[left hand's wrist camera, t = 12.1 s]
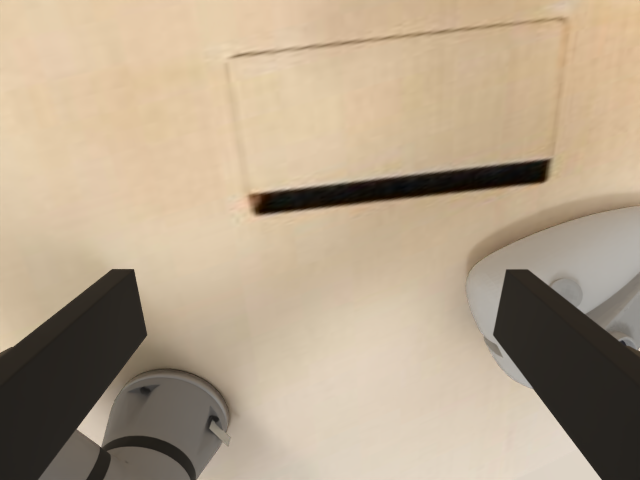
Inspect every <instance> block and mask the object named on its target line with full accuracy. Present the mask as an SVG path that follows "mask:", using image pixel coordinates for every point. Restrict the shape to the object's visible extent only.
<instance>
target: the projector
mask: <svg viewBox="0 0 640 480" xmlns="http://www.w3.org/2000/svg"><path fill="white" fill-rule="evenodd" d="M506 269H528V270H529V271H531V272H532V273H533V274H534V275H536V276H537V277H538V278H540V279H541V280H542V281H543V282H545V283H546V284H547V285H548V286H550V287H551V288H552V289H554V290H555V291H556V292H557V293H559V294H560V295H561V296H562V297H564V298H565V299H566V300H568V301H569V302H570V303H571V304H573V305H574V306H575V307H576V308H578V309H579V310H580V311H582V312H583V313H584V314H585V315H587V316H588V317H589V318H590V319H592V320H593V321H594V322H596V323H597V324H598V325H599V326H601V327H602V328H603V329H604V330H606V331H607V332H608V333H610V334H611V335H612V336H613V337H615V338H616V339H617V340H618V341H620V342H621V343H622V344H624V345H625V346H630V347H632V348H634V349H636V350H638V349H639V348H640V206H633V207H626V208H620V209H615V210H610V211H605V212H601V213H596V214H592V215H588V216H585V217H581V218H578V219H574V220H571V221H568V222H565V223H562V224H559V225H556V226H553V227H550V228H547V229H545V230H542V231H540V232H537V233H534V234H532V235H530V236H527V237H525V238H523V239H520V240H518V241H516V242H514V243H511V244H509V245H507V246H505V247H503V248H501V249H499V250H497V251H495V252H493V253H492V254H490V255H488V256H487V257H485V258H484V259H482V260H481V261H479V262H478V263H477V264H476V265H475V266H474V267H473V268H472V269H471V271H470V272H469V274H468V277H467V280H466V295H467V299H468V303H469V306H470V309H471V312H472V315H473V317H474V319H475V322H476V324H477V326H478V328H479V330H480V332H481V333H482V334H483V336H484V340H485V343H486V345H487V347H488V349H489V351H490V352H491V354H492V356H493V358H494V359H495V361H496V362H497V364H498V365H499V366H500V368H501V369H502V370H503V371H504V372H505V373H506V374H507V375H508V376H509V377H510V378H512V379H513V380H515V381H516V382H518V383H520V384H522V385H524V386H526V387H529V388H532V386H531V385H530V384H529V382H528V381H527V380H526V378H525V377H524V376H523V375H522V373H521V372H520V371H519V369H518V368H517V367H516V365H515V364H514V363H513V361H512V360H511V359H510V357H509V356H508V355H507V353H506V352H505V351H504V349H503V348H502V347H501V345H500V344H499V343H498V341H497V340H496V339H495V337H494V336H493V332H494V327H495V322H496V317H497V312H498V307H499V302H500V297H501V292H502V287H503V282H504V277H505V272H506ZM532 389H533V388H532Z"/></svg>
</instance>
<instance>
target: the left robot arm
mask: <svg viewBox="0 0 640 480" xmlns="http://www.w3.org/2000/svg"><path fill="white" fill-rule="evenodd" d="M146 336H147V332H146V327H145V322H144V317H143V312H142V307H141V302H140V297H139V292H138V287H137V282H136V277H135V272H134V269H112V270H111V271H109V272H108V273H107V274H105V275H104V276H103V277H102V278H100V279H99V280H98V281H97V282H95V283H94V284H93V285H92V286H90V287H89V288H88V289H86V290H85V291H84V292H83V293H81V294H80V295H79V296H78V297H76V298H75V299H74V300H72V301H71V302H70V303H69V304H67V305H66V306H65V307H64V308H62V309H61V310H60V311H58V312H57V313H56V314H55V315H53V316H52V317H51V318H50V319H48V320H47V321H46V322H44V323H43V324H42V325H41V326H39V327H38V328H37V329H36V330H34V331H33V332H32V333H30V334H29V335H28V336H27V337H25V338H24V339H23V340H22V341H20V342H19V343H18V344H16V345H15V346H14V347H11V348H9V349H7V350H5V351H3V352H1V353H0V480H197V478H198V477H199V475H200V474H201V472H202V471H203V470H204V468H205V467H206V465H207V464H208V463H209V461H210V460H211V458H212V457H213V456H214V454H215V453H216V451H217V450H218V449H219V447H220V445H221V443H222V441H223V442H224V443H225V444H226V445H227V446H229V442H230V438H231V437H230V436H229V435H228V434H227V433H226V431H227V427H228V423H229V412H228V408H227V405H226V403H225V401H224V399H223V397H222V396H221V395H220V393H219V392H218V391H217V390H216V389H215V388H214V387H213V386H212V385H210V384H209V383H208V382H206V381H205V380H203V379H201V378H199V377H197V376H195V375H193V374H190V373H187V372H183V371H178V370H169V369H161V370H153V371H149V372H145V373H142V374H140V375H138V376H136V377H134V378H133V379H131V380H130V381H129V382H128V383H127V384H126V385H125V386H124V387H123V389H122V390H121V392H120V393H119V395H118V396H117V398H116V399H115V401H114V404H113V406H112V409H111V412H110V416H109V420H108V424H107V427H106V431H105V435H104V439H103V443H102V447H100V446H99V445H97V444H96V443H95V442H93V441H92V440H91V439H89V438H88V437H86V436H85V435H84V434H82V433H81V432H79V431H78V430H77V428H78V426H79V425H80V424H81V422H82V421H83V420H84V418H85V417H86V416H87V414H88V413H89V412H90V410H91V409H92V408H93V406H94V405H95V404H96V402H97V401H98V400H99V398H100V397H101V396H102V394H103V393H104V392H105V390H106V389H107V388H108V386H109V385H110V384H111V382H112V381H113V380H114V378H115V377H116V376H117V375H118V373H119V372H120V371H121V369H122V368H123V367H124V365H125V364H126V363H127V361H128V360H129V359H130V357H131V356H132V355H133V353H134V352H135V351H136V349H137V348H138V347H139V345H140V344H141V343H142V341H143V340H144V339H145V337H146ZM493 336H494V337H495V339H496V340H497V341H498V343H499V344H500V345H501V347H502V348H503V349H504V351H505V352H506V353H507V355H508V356H509V357H510V359H511V360H512V361H513V363H514V364H515V365H516V367H517V368H518V369H519V371H520V372H521V373H522V375H523V376H524V377H525V378H526V380H527V381H528V382H529V384H530V385H531V386H532V388H533V389H534V390H535V392H536V393H537V394H538V396H539V397H540V398H541V400H542V401H543V402H544V404H545V405H546V406H547V408H548V409H549V410H550V412H551V413H552V414H553V416H554V417H555V418H556V420H557V421H558V422H559V424H560V425H561V426H562V428H563V429H564V430H565V432H566V433H567V434H568V436H569V437H570V438H571V439H572V441H573V442H574V443H575V445H576V446H577V447H578V449H579V450H580V451H581V453H582V454H583V455H584V457H585V458H586V459H587V461H588V462H589V463H590V465H591V466H592V467H593V469H594V470H595V471H596V473H597V474H598V475H599V477H600V478H601V479H602V480H640V351H638V350H636V349H634V348H632V347H630V346H625V345H624V344H622V343H621V342H620V341H618V340H617V339H616V338H615V337H613V336H612V335H611V334H610V333H608V332H607V331H606V330H604V329H603V328H602V327H601V326H599V325H598V324H597V323H596V322H594V321H593V320H592V319H590V318H589V317H588V316H587V315H585V314H584V313H583V312H582V311H580V310H579V309H578V308H576V307H575V306H574V305H573V304H571V303H570V302H569V301H568V300H566V299H565V298H564V297H562V296H561V295H560V294H559V293H557V292H556V291H555V290H554V289H552V288H551V287H550V286H548V285H547V284H546V283H545V282H543V281H542V280H541V279H540V278H538V277H537V276H536V275H534V274H533V273H532V272H531V271H529V270H528V269H506V272H505V277H504V282H503V287H502V292H501V297H500V302H499V307H498V312H497V317H496V322H495V327H494V332H493Z"/></svg>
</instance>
